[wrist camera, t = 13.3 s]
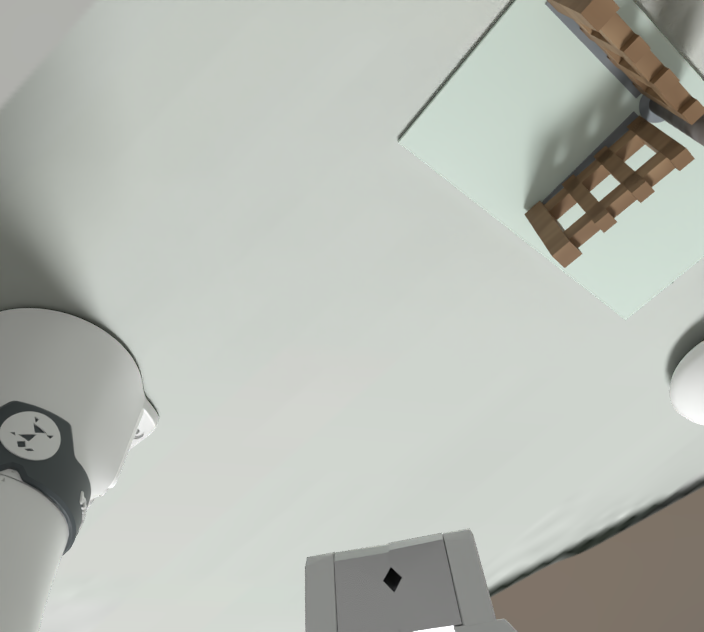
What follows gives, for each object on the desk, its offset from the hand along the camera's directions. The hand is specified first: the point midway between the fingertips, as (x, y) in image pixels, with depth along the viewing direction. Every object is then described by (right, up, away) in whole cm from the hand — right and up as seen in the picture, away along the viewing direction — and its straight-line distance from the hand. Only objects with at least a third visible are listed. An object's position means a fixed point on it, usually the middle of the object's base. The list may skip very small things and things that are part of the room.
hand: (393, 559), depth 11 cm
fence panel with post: (+15, +21, +27) cm, 37 cm away
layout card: (+17, +15, +31) cm, 38 cm away
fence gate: (+15, +14, +31) cm, 37 cm away
